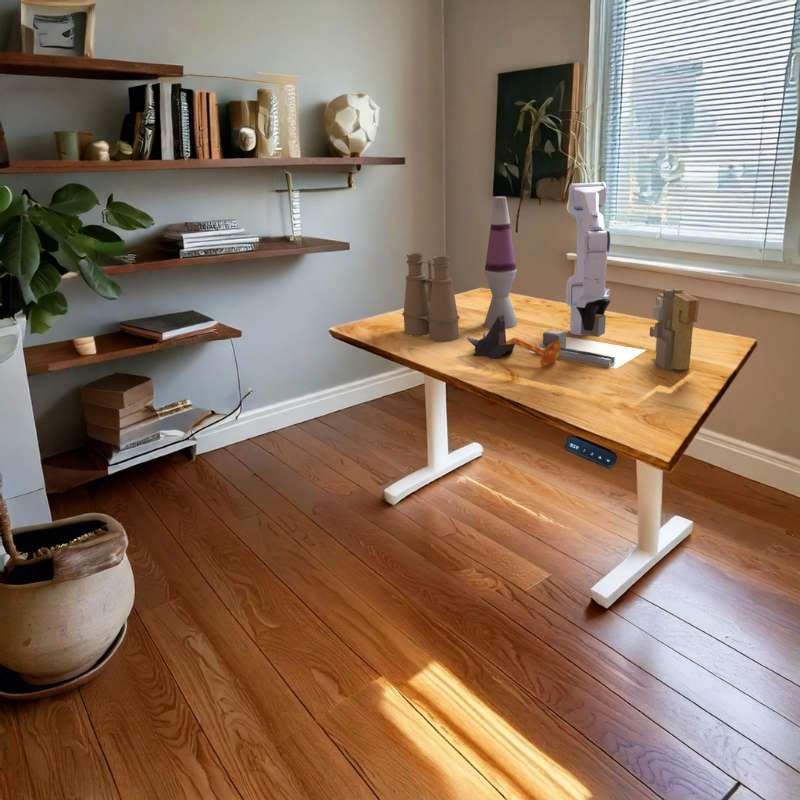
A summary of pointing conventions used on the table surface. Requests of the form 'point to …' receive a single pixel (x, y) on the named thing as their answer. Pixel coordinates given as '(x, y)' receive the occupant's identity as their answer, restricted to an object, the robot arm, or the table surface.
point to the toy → (674, 328)
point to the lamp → (500, 265)
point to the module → (595, 326)
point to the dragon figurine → (511, 344)
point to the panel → (604, 350)
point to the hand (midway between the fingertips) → (592, 327)
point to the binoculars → (430, 300)
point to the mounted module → (554, 337)
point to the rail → (585, 356)
